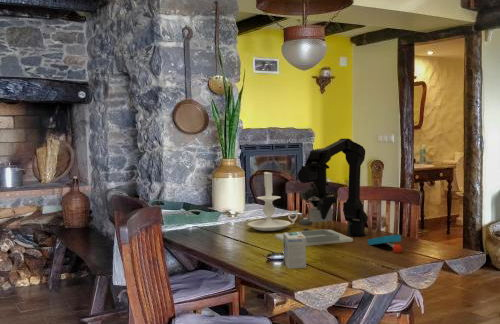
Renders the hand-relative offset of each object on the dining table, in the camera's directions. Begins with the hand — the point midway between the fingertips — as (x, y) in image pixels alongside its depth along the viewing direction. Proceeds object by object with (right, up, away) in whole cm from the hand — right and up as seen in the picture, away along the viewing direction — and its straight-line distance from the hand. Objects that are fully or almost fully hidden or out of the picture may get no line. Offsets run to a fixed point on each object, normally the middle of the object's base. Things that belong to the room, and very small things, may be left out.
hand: (320, 218), depth 226 cm
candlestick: (-18, -9, +36) cm, 41 cm away
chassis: (-2, -10, +12) cm, 16 cm away
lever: (+25, -11, -9) cm, 29 cm away
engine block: (0, -1, 0) cm, 1 cm away
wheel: (-4, -5, +18) cm, 19 cm away
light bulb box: (-13, -14, -30) cm, 36 cm away
